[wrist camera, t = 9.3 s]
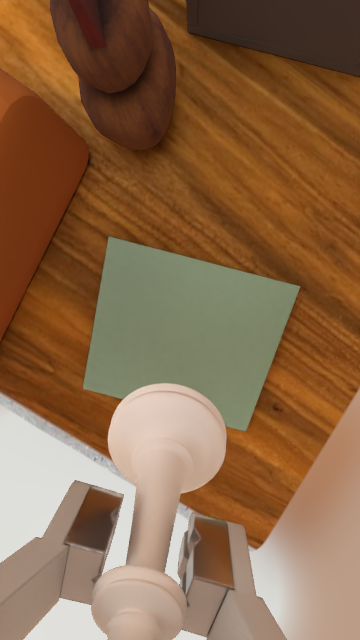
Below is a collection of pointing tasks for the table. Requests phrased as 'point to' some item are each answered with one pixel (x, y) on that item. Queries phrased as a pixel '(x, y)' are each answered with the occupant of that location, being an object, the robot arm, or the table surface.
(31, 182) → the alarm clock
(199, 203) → the table surface
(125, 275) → the mat
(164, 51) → the wooden figurine
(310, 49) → the tub
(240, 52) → the table surface
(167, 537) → the chess piece
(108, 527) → the robot arm
